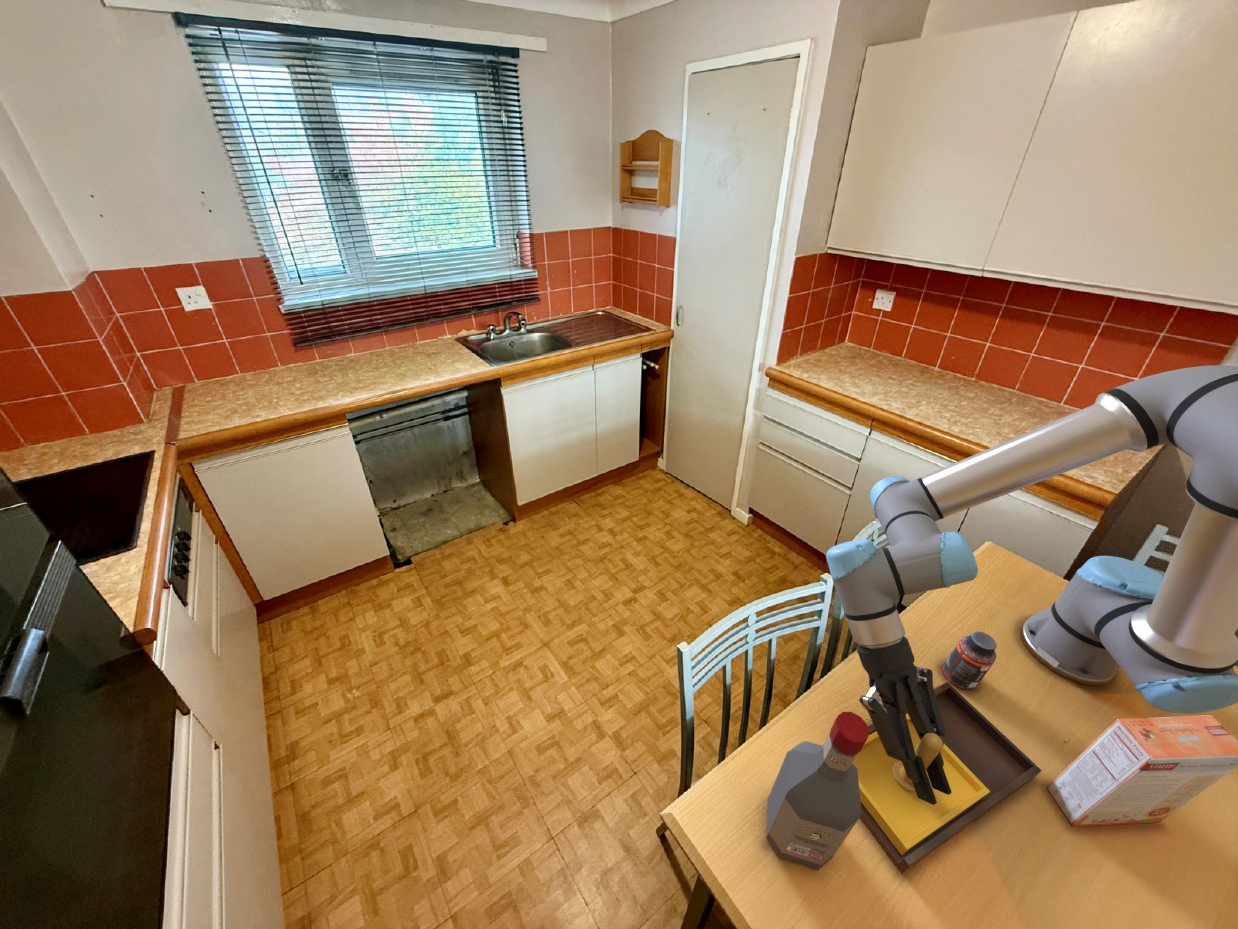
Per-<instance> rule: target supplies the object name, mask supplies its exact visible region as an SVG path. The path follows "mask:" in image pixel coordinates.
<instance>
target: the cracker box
mask: <svg viewBox="0 0 1238 929" xmlns="http://www.w3.org/2000/svg"><path fill="white" fill-rule="evenodd" d="M1236 769H1238V738H1236V736H1234V735H1233V734H1232V732H1231V731H1229V730H1228V729H1227V728H1226V727H1225V726H1224V725H1223V724H1222V723H1221V722H1220V721H1219V720H1217V718H1216V717H1215V716H1214V715H1212V714H1211V715H1210V714H1209V715H1186V716H1161V717H1160V716H1159V717H1157V716H1156V717H1126V718H1125V717H1124V718H1123V717H1122V718H1116V719H1115V720H1114V721H1113V722H1112V723H1111V724H1110V725H1109V726H1108V727H1107V728H1106V729H1105V730H1104V731H1103V732H1102V733H1101V734H1100V735H1099V736H1098V737H1097V738H1096V739H1095V740H1094V741H1093V742H1092V743H1090V745H1088V747H1087V748H1085V749H1084V751H1082V752H1081V753H1080V754H1079V755H1078V756H1077V758H1075V760H1073V761H1072V762H1071V763H1070V764H1069V765H1068V766H1067V767H1066V768H1065V769H1064V770H1063V771H1062V772H1061V773H1060V774H1058V776H1057V777H1056V778H1054V780H1052V781H1051V783H1049V784H1048V786H1047V787H1046V789H1047V791H1048V792H1049V794H1050V795H1051V796H1052V798H1053V799H1054V801H1055V802H1056V804H1057V805H1058V807H1059V808H1060V810H1061V812H1062V813H1063V814H1064V816H1065V817H1066V819H1067V820H1068V822H1069V823H1070V825H1071V826H1072V827H1096V826H1113V825H1136V824H1137V825H1138V824H1159V823H1160V822H1162V821H1164V820H1165V819H1166V818H1167V817H1169V816H1171V815H1172V814H1174V813H1175V812H1177V811H1178V810H1179V809H1181V808H1182V807H1183V806H1185V805H1186V804H1188V803H1189V802H1191V801H1193V799H1195V798H1196V797H1198V796H1199V795H1200V794H1202V793H1203V792H1205V791H1206V790H1208V789H1209V788H1211V787H1212V786H1214V785H1215V784H1216V783H1218V782H1219V781H1221V780H1222V779H1224V778H1225V777H1226V776H1227V775H1229V774H1230V773H1232V772H1233V771H1235V770H1236Z"/></svg>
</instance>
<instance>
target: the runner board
mask: <svg viewBox="0 0 1238 929" xmlns="http://www.w3.org/2000/svg"><path fill="white" fill-rule="evenodd" d="M934 691H935V695H936V699H937V702H938V706H939V710H940V713H941V717H942V721H943V724H944V728H945V732H946V734H945V736H944V737H940V738H941V740H942V741H943V742H944V744H945V745H946V746H947V747H948V748H949V749H950V750H951V751H952V752H953V753H954V754H955V755H956V756H957V757H958V758H959V759H960V761H961V762H962V763H963V764H964V765H965V766H966V767H967V768H968V769H969V770H970V771H971V772H972V773H973V774H974V775H975V776H976V777H977V778H978V779H979V780H980V781H981V782H982V783H983V784H984V786H985V787H986V788H987V789H988V790H989V791H990V793H989V794H988V795H987V796H986V797H985V798H984V799H982V800H981V801H979V802H978V803H976V804H975V805H974V806H972V807H971V808H969V809H968V810H967V811H965V812H964V813H962V814H961V815H959V816H958V817H957V818H955V819H954V820H952V821H951V822H949V823H948V824H947V825H945V826H944V827H942V828H941V829H940V830H938V831H937V832H935V833H934V834H932V835H931V836H930V837H928V838H927V839H925V840H924V841H923V842H921V843H920V844H918V845H917V846H915V847H914V848H913V849H911V850H910V851H908V852H907V853H905V854H904V855H903V856H902V855H901V854H900V853H899V851H898V850H897V849H896V847H895V846H894V845H893V843H892V842H891V841H890V839H889V838H888V837H887V835H886V834H885V833H884V831H883V830H882V829H881V828H880V826H879V825H878V824H877V822H876V821H875V820H874V818H873V817H872V816H871V814H870V813H869V812H868V810H867V809H866V808H865V806H864V805H863V804H862V802H861V812H862V815H861V816H860V818H859V819H860V820H861V821H862V823H863V824H864V825H865V827H866V828H867V829H868V831H869V832H870V833H871V835H872V836H873V837H874V839H875V840H876V842H877V843H878V844H879V846H880V847H881V848H882V850H883V852H885V854H886V855H887V856H888V858H889V859H890V861H891V862H892V863H893V864H894V866H895V867H896V868H897V870H898V872H900V874H901V875H903V874H904V873H906V872H907V871H908V870H910V869H911V868H913V867H914V866H915V865H917V864H918V863H919V862H921V861H923V859H925V858H927V857H928V856H929V855H930V854H932V853H933V852H935V851H936V850H938V849H939V848H940V847H942V846H944V845H945V844H946V843H948V842H949V841H950V840H951V839H953V838H954V837H956V836H957V835H958V834H959V833H961V832H962V831H964V830H965V829H967V828H968V827H970V826H971V825H972V824H973V823H975V822H976V821H977V820H979V819H980V818H982V817H983V816H984V815H986V814H988V813H989V812H990V811H992V810H993V809H994V808H996V807H997V806H999V805H1001V803H1002V802H1004V801H1005V800H1007V799H1008V798H1009V797H1011V796H1012V795H1014V794H1015V793H1017V792H1019V790H1021V789H1022V788H1023V787H1025V786H1026V785H1027V784H1029V783H1030V782H1031V781H1033V780H1034V779H1035V778H1037V776H1038V775H1039V774H1040V773H1041V772H1042V769H1041V768H1040V767H1039V766H1038V765H1037V764H1036V763H1034V761H1032V759H1030V758H1029V757H1028V756H1027V755H1026V754H1025V753H1024V752H1023V751H1022V750H1021V749H1020V748H1019V747H1018V746H1016V745H1015V744H1014V743H1013V742H1012V741H1011V740H1010V739H1009V738H1008V737H1007V736H1006V735H1005V734H1004V733H1003V732H1001V730H999V729H998V728H997V727H996V726H995V725H994V724H993V723H992V722H991V721H990V720H989V719H988V718H986V717H985V715H984V714H982V713H981V712H980V711H979V710H978V709H977V708H976V706H973V704H972V703H971V702H970V701H968V700H967V699H966V698H965V697H964V696H963V695H962V694H961V693H960V692H958V690H956V688H955V687H953V686H952V685H951V684H950V682H948V681H946V682H944V683H942V684H940V685H938V686H937V687H935V688H934ZM905 714H908V713H907V710H906V711H905ZM867 726H868V729H869V735H871V734H872V733H874V732H876V729H875V727H874V724H873V723H871V724H869V725H867ZM933 726H935V724H933ZM869 735H868V736H869Z"/></svg>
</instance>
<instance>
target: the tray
mask: <svg viewBox="0 0 1238 929" xmlns="http://www.w3.org/2000/svg"><path fill="white" fill-rule="evenodd" d="M906 718H907V722H908V726H909V730H910V735H911V739H912V743H913V747H914V751H915V755H916V756H918V757H921V758H922V761H923V764H924V767H925V770H926V769H927V768H928V766H929V765H930V764H931V762H932V761H933V760H934V759H935V757H936V756H937V755H938V753H939V752H941V755H942V758H943V761H944V766H943V769H944V772H945V775H946V777H947V780H948V783H949V786H950V789H951V792H952V793H951V794H949V795H947V794H945V793H943V792H940V791H938V790H936V789H934V788H932V790H933V793H934V795H935V798H936V801H937V803H936V804H934V805H932V804H930V803H928V802H926V801H924V800H922V799H920V798H918V797H917V794H916V791H915V788H914V785H913V783H912V780H910V779H909V778H908V777H907V775H906V772H905V769H904V766H903V763H902V761H899V760H897V759H894V758H892V757H889V756H888V755H887V754H886V751H885V749H884V747H883V745H882V742H881V740H880V738H879V736H878V733H877V731H876V732H874V733H872V734H871V735H869V736H868V739H867V741H866V742H865V744H864V746H863V748H862V750H861V751H860V752H859V753H858V754H857V755H856V757H855V759H854V760H853V762H852V763H853V764H854V765H855V766H856V768H857V772H858V782H859V792H860V801H861V802H862V804H863V805H864V806H865V808H866V809H867V810H868V812H869V813H870V814H871V816H872V817H873V818H874V820H875V821H876V822H877V824H878V825H879V826H880V828H881V829H882V830H883V831H884V833H885V834H886V835H887V837H888V838H889V839H890V841H891V842H892V843H893V845H894V846H895V847H896V849H897V850H898V851H899V853H900V854H901V855H902V856H903V855H904V854H905V853H907V852H908V851H910V850H911V849H913V848H914V847H915V846H917V845H918V844H920V843H921V842H923V841H924V840H925V839H927V838H928V837H930V836H931V835H932V834H934V833H935V832H937V831H938V830H940V829H941V828H942V827H944V826H945V825H947V824H948V823H949V822H951V821H952V820H954V819H955V818H957V817H958V816H959V815H961V814H962V813H964V812H965V811H967V810H968V809H969V808H971V807H972V806H974V805H975V804H976V803H978V802H979V801H981V800H982V799H984V798H985V797H986V796H987V795H988V794H989V793H990V791H989V790H988V789H987V788H986V787H985V786H984V784H983V783H982V782H981V781H980V780H979V779H978V778H977V777H976V776H975V775H974V774H973V773H972V772H971V771H970V770H969V769H968V768H967V767H966V766H965V765H964V764H963V763H962V762H961V761H960V759H959V758H958V757H957V756H956V755H955V754H954V753H953V752H952V751H951V750H950V749H949V748H948V747H947V746H946V745H945V744H944V745H943V742H942V740H941V738H940V737H939V736H938V735H936V734H934V733H927V734H925V735H924V736H923V738H922V739H921V740H920V738H919V736H918V734H917V732H916V730H915V728H914V725H913V723H912V721H911V719H910V717H909V715H908V714H906ZM926 773H927V771H926ZM927 775H928V774H927ZM928 778H929V777H928ZM929 781H930V780H929ZM930 784H931V782H930ZM931 787H932V785H931Z"/></svg>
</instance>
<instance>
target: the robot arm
mask: <svg viewBox="0 0 1238 929" xmlns="http://www.w3.org/2000/svg"><path fill="white" fill-rule="evenodd" d="M1164 445H1168V446H1174V447H1175V448H1176V449H1178V450H1179V451H1181V452H1182V453H1185V454H1186V455H1187V456H1188V457H1189V458H1191V459H1192V460H1193V465H1192V467H1191V470H1190V472H1189V475H1188V478H1187V480H1186V482H1185V486H1184V487H1185V491H1186V494H1187V495H1188V497H1189V498H1190V499H1192V501H1193V502H1194V506H1193V508H1192V510H1191V513H1190V515H1189V517H1188V519H1187V522H1186V524H1185V527H1184V529H1183V530H1182V533H1181V536H1180V538H1179V540H1178V543H1177V544H1176V547H1175V550H1174V552H1173V554H1172V556H1171V558H1170V561H1169V563H1168V566H1167V568H1166V571H1165V572H1164V574H1163V575H1162V574H1161V573H1160V572H1157V571H1156V570H1155V569H1152V568H1151V567H1149V566H1147V565H1144V564H1141V563H1139V562H1136V561H1134V560H1130V559H1127V558H1125V557H1124V558H1123V557H1119V556H1112V555H1097V556H1093V557H1091V558H1089V559H1088V560H1087V561H1085V562H1084V564H1083V565H1082V566H1081V567H1079V568H1078V569H1077V570H1076V572H1075V573H1074V575H1073V576H1072V577H1071V579H1070V580H1069V582H1068V583H1067V584H1066V586H1065V587H1064V589H1063V590H1062V591H1061V593H1060V594H1059V595H1058V597H1057V598H1056V600H1055V601H1054V602H1053V603H1052V605H1051V606H1048V607H1046V608H1044V609H1042V610H1040V611H1039V612H1036V613H1035V614H1033V615H1031V616H1029V617H1028V618H1027V619H1026V620H1025V621H1024V623H1023V624H1022V625H1021V627H1020V633H1019V634H1020V638H1021V642H1022V643H1023V645H1024V647H1025V648H1026V649H1027V651H1028V652H1029V654H1030V655H1031V656H1032V657H1033V658H1034V659H1036V661H1038V662H1039V663H1040V664H1041V665H1043V667H1046V668H1047V669H1048V670H1050V671H1051V672H1053V673H1054V674H1056V675H1058V676H1060V677H1062V678H1065V679H1067V680H1069V681H1072V682H1074V683H1078V684H1082V685H1087V686H1101V685H1105V684H1107V683H1109V682H1110V681H1111V680H1112V679H1113V678H1114V677H1116V675H1117V673H1118V672H1119V667H1120V669H1121V670H1122V671H1123V673H1124V674H1125V676H1126V677H1127V678H1128V680H1129V681H1130V682H1131V683H1132V685H1133V687H1134V689H1135V690H1136V691H1137V692H1138V693H1139V694H1141V695H1142V697H1143V698H1144V699H1145V700H1146V701H1147V702H1148V703H1149V705H1151V707H1154V708H1155V709H1158V710H1160V711H1163V712H1166V713H1170V714H1183V715H1184V714H1185V715H1186V714H1188V715H1189V714H1201V713H1207V712H1213V711H1217V710H1222V709H1224V708H1227V707H1231V706H1233V705H1235V704H1237V703H1238V673H1237V672H1236V671H1235V666H1236V665H1237V662H1238V637H1237V636H1236V634H1235V633H1236V632H1237V630H1238V366H1237V365H1230V364H1229V365H1226V364H1220V365H1219V364H1217V365H1215V364H1213V365H1212V364H1211V365H1200V366H1190V367H1183V368H1179V369H1174V370H1168V371H1163V372H1160V373H1156V374H1151V375H1148V376H1145V377H1141V378H1137V379H1135V380H1132V381H1130V382H1127V383H1124V384H1122V385H1121V384H1120V385H1118V386H1116V387H1114V388H1112V389H1109V390H1107V391H1104V392H1102V393H1099V394H1098V395H1097V397H1096V398H1095V401H1094V403H1093V404H1092V405H1089V406H1087V407H1084V408H1082V409H1080V410H1077V411H1075V412H1073V413H1070V414H1068V415H1066V416H1064V417H1063V416H1062V417H1061V418H1058V419H1056V420H1053V421H1050V422H1048V423H1047V424H1044V425H1042V426H1039V427H1037V428H1035V429H1032V430H1030V431H1026V432H1025V433H1023V434H1020V435H1017V436H1015V437H1012V438H1010V439H1009V440H1006V441H1003V442H1002V443H999V444H997V445H994V446H992V447H990V448H987V449H984V450H982V451H980V452H977V453H975V454H973V455H971V456H968V457H966V458H963V459H961V460H958V461H956V462H953V463H951V464H949V465H946V466H944V467H942V468H939V469H937V470H934V471H932V472H930V473H927V474H925V475H922V476H921V477H918V478H915V479H913V480H911V481H910V480H909V479H908V478H906V477H904V476H900V475H897V476H887V477H883V478H882V479H880V480H878V482H876V483H875V484H874V485H873V487H872V488H871V490H870V494H869V500H870V503H871V506H872V509H873V511H874V512H873V513H874V516H875V518H876V519H877V520H878V522H879V524H880V526H881V528H882V530H883V532H884V534H885V537H886V539H887V541H888V543H889V544H888V545H889V546H885V547H881V548H877V546H875V543H874V542H873V541H872V540H871V539H868V538H861V539H854V540H850V541H849V540H848V541H845V542H841V543H838V544H835V545H833V546H832V547H830V548H829V549H828V550H827V551H826V554H825V559H826V563H827V565H828V569H829V572H830V576H831V580H832V582H833V585H834V588H835V591H836V593H837V597H838V599H839V602H840V605H841V608H842V610H843V613H844V616H845V619H846V622H847V625H848V628H849V631H850V633H851V637H852V639H853V642H854V643H855V644H857V645H856V646H855V649H856V651H857V654H858V657H859V661H860V663H861V666H862V668H863V669H864V670H865V672H866V673H867V675H868V685H869V686H868V687H869V688H870V689H869V690H868V692H867V693H866V695H863V694H862V695H860V696H859V699H858V701H859V703H860V704H861V705H862V707H863V708H864V709H865V710H866V711H867V714H868V715H869V718H870V719H871V722H872V724H874V727H875V729H876V731H877V733H878V736H879V738H880V740H881V742H882V745H883V747H884V749H885V751H886V754H887V755H888V756H889V757H892V758H894V759H897V760H899V761H902V763H903V766H904V769H905V772H906V775H907V777H908V778H909V779H910V780H912V783H913V785H914V788H915V791H916V794H917V797H918V798H920V799H922V800H924V801H926V802H928V803H930V804H932V805H934V804H936V803H937V801H936V798H935V795H934V793H933V790H932V788H934V789H936V790H938V791H940V792H943V793H945V794H947V795H949V794H951V793H952V792H951V789H950V786H949V783H948V780H947V777H946V775H945V772H944V769H943V766H944V761H943V758H942V755H941V752H939V753H938V755H937V756H936V757H935V759H934V760H933V761H932V762H931V764H930V765H929V766H928V768H927V769H926V770H925V767H924V764H923V761H922V758H921V757H918V756H916V755H915V751H914V747H913V743H912V739H911V735H910V730H909V726H908V722H907V718H906V714H905V711H906V710H907V713H908V715H909V717H910V719H911V721H912V723H913V725H914V728H915V730H916V732H917V734H918V736H919V738H920V740H921V739H922V738H923V736H924V735H925V734H927V733H934V734H936V735H938V736H939V737H944V736H945V734H946V732H945V728H944V724H943V721H942V717H941V713H940V710H939V706H938V702H937V699H936V695H935V691H934V689H935V688H934V674H933V671H932V669H930V668H927V667H921V666H916V664H914V663H915V656H914V653H913V650H912V646H911V644H910V642H909V639H908V637H906V636H905V635H906V630H905V627H904V625H903V622H902V620H901V616H900V614H899V611H898V608H897V606H896V602H895V600H894V598H897V597H902V596H909V595H913V594H918V593H919V594H920V593H924V592H929V591H934V590H935V591H936V590H940V589H945V588H946V589H948V588H951V587H952V586H956V585H960V584H963V583H967V582H972V581H973V580H975V579H976V578H977V577H978V573H979V569H978V564H977V561H976V556H975V555H974V552H973V550H972V548H971V545H970V544H969V543H968V540H967V539H966V537H965V536H964V535H963V534H962V533H960V532H959V531H947V532H946V531H944V532H942V531H941V529H940V528H939V526H938V524H937V523H936V522H937V521H938V522H939V521H940V520H943V519H945V518H947V517H950V516H952V515H955V514H958V513H961V512H964V511H966V510H968V509H971V508H974V507H977V506H979V505H982V504H984V503H988V502H990V501H992V500H995V499H999V498H1000V497H1003V496H1006V495H1009V494H1011V493H1013V492H1014V493H1015V492H1016V491H1020V490H1021V489H1024V488H1027V487H1030V486H1032V485H1035V484H1037V483H1040V482H1043V481H1046V480H1048V479H1052V478H1054V477H1057V476H1059V475H1062V474H1065V473H1067V472H1069V471H1072V470H1074V469H1078V468H1080V467H1083V466H1086V465H1088V464H1091V463H1094V462H1096V461H1099V460H1102V459H1103V458H1106V457H1109V456H1112V455H1114V454H1117V453H1120V452H1123V451H1126V450H1127V451H1133V452H1138V453H1141V452H1144V451H1147V450H1149V449H1152V448H1154V447H1159V446H1164ZM933 724H935V726H933ZM942 742H943V741H942ZM943 745H944V742H943ZM926 771H927V773H926ZM927 774H928V775H927ZM928 777H929V778H928ZM929 780H930V781H929ZM930 782H931V784H930ZM931 785H932V787H931Z"/></svg>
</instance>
